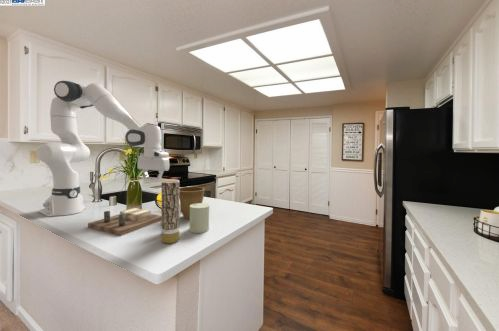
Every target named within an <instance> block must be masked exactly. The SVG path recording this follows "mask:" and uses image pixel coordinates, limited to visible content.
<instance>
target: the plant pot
mask: <svg viewBox="0 0 499 331" xmlns="http://www.w3.org/2000/svg"><path fill="white" fill-rule="evenodd" d="M204 195H205V187H201V186H186V187H185V186H184V187H179V199H180V205H181V210H180V212H181V214H182V216H183V218H184V219H186V220H190V205H191V204H196V203H203V200H204Z"/></svg>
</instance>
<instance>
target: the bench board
mask: <svg viewBox="0 0 499 331" xmlns="http://www.w3.org/2000/svg"><path fill="white" fill-rule="evenodd" d="M160 221H161V215H159V214H154V213H151V217H148V218H145V219H142V220H139V221H135V220H130V219H126V218H125V214H120V213H119V214H115V215H113V216H111V211H110V210H106V211H103V218H102V219H98V220H95V221H90V222H88V223H87V228H89V229H93V230H98V231H101V232H104V233H110V234H113V235H117V236H121V237H122V236H124V235H126V234H130V233H132V232H136V231H137V230H140V229H143V228H145V227H148V226H150V225H153V224H155V223H158V222H160Z"/></svg>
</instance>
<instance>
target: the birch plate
mask: <svg viewBox="0 0 499 331" xmlns="http://www.w3.org/2000/svg"><path fill="white" fill-rule="evenodd" d="M119 214H125V218H126V219H130V220H135V221H139V220H142V219H145V218H148V217H151V214H152V213H151V210H147V209H141V208H136V207H132V208H129V209H126V210H122V211H120V212H119Z"/></svg>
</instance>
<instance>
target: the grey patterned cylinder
mask: <svg viewBox="0 0 499 331" xmlns="http://www.w3.org/2000/svg"><path fill="white" fill-rule="evenodd" d="M179 188H180V179H173V178H171V179H169V178H167V179H162V180H161V212H160V213H161V215H160V216H161V231H160V232H161V242H162V243H164V244H167V245H168V244H174V243H177V242H179V240H180V217H179Z"/></svg>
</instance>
